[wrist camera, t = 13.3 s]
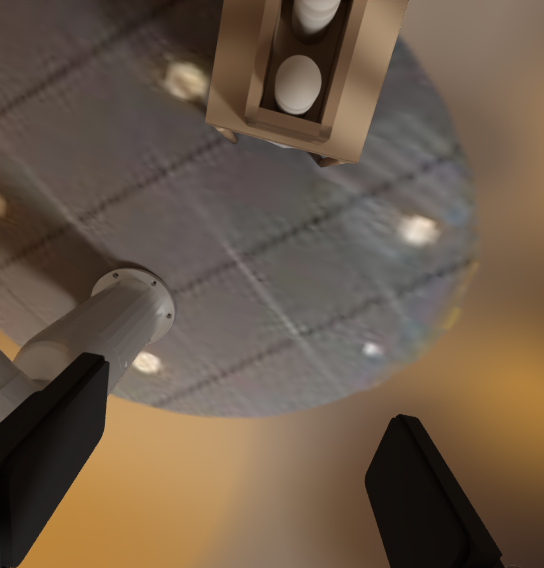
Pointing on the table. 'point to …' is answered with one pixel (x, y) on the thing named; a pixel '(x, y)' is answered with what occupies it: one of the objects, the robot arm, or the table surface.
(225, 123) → the tan flanged panel
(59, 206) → the table surface
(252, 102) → the tray
